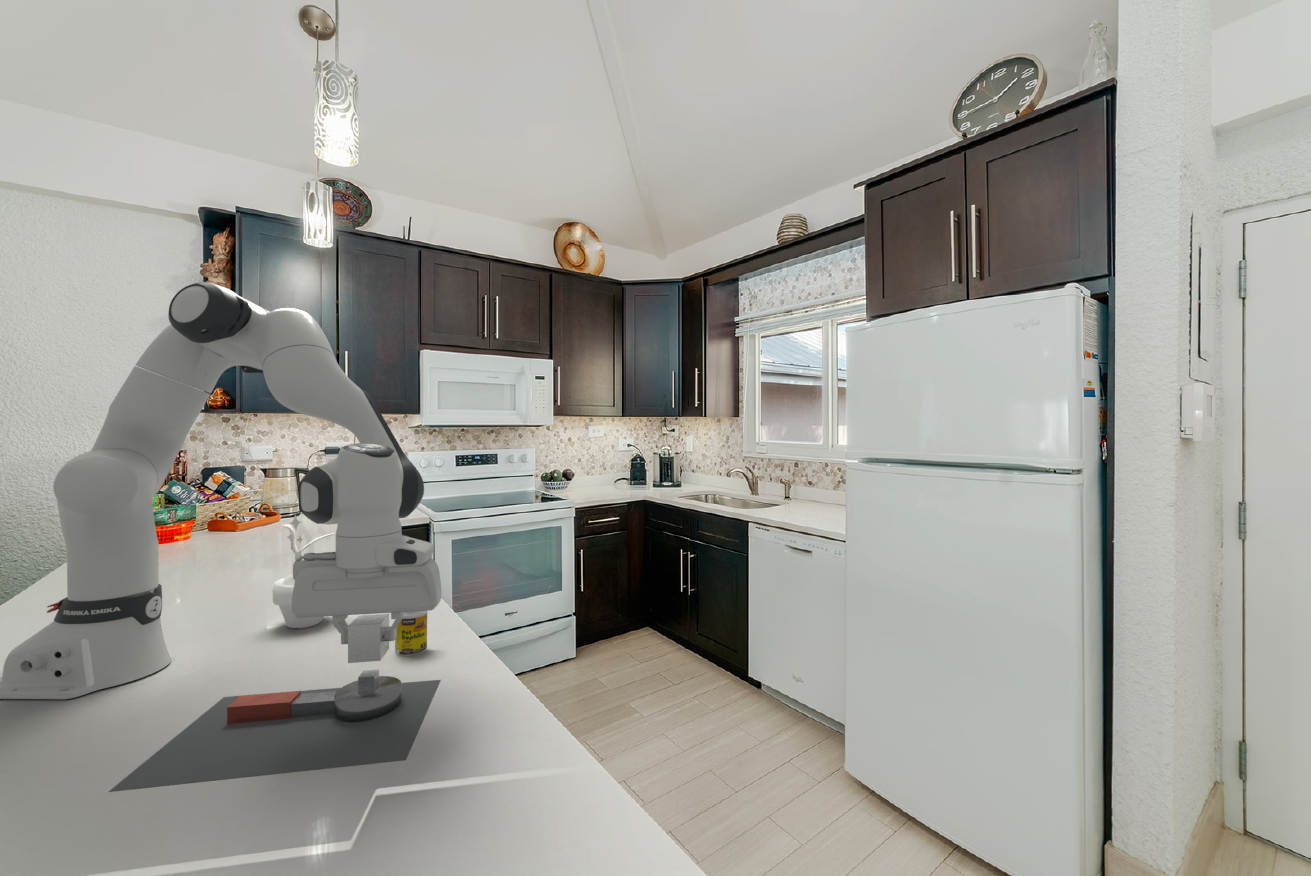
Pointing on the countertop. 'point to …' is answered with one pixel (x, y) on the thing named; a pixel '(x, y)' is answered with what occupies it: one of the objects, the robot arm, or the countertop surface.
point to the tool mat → (282, 743)
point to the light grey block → (367, 638)
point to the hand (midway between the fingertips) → (369, 641)
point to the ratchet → (323, 702)
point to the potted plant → (292, 585)
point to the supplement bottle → (411, 634)
